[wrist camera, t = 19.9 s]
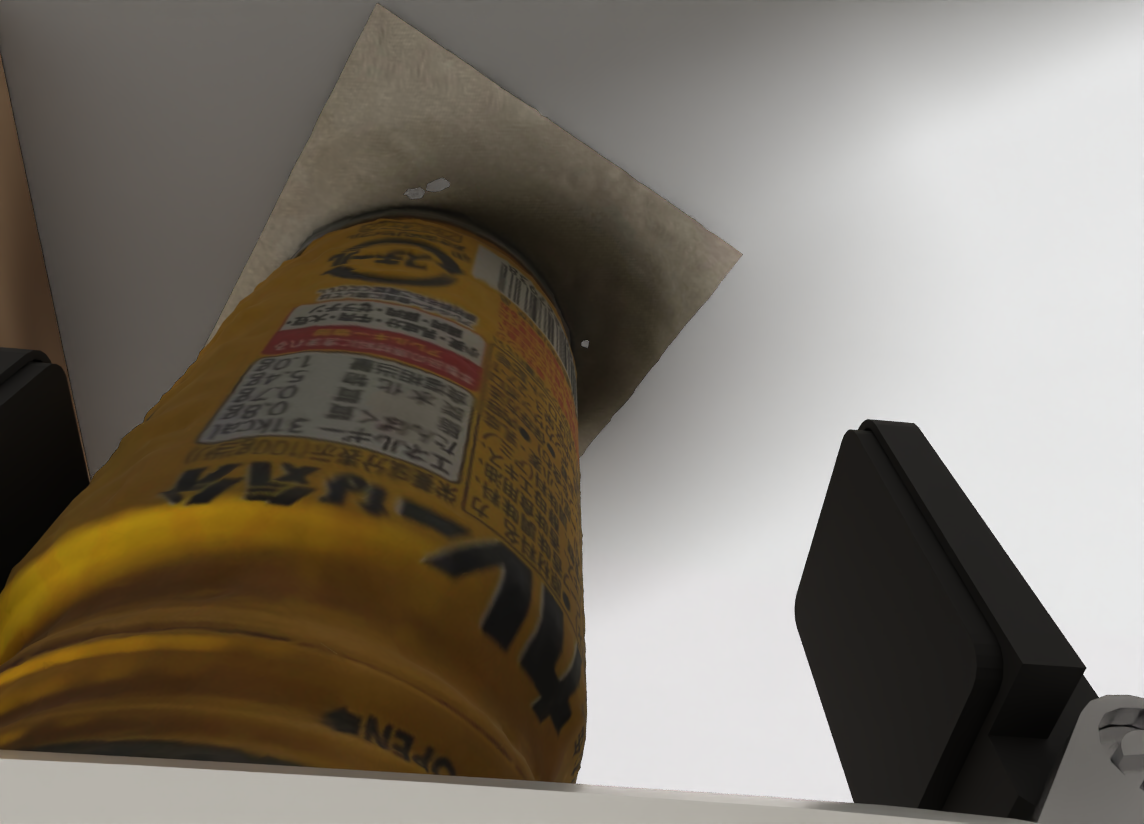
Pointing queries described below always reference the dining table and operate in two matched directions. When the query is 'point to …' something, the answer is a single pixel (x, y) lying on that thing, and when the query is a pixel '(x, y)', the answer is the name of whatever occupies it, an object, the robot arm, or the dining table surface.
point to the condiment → (370, 457)
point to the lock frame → (23, 256)
